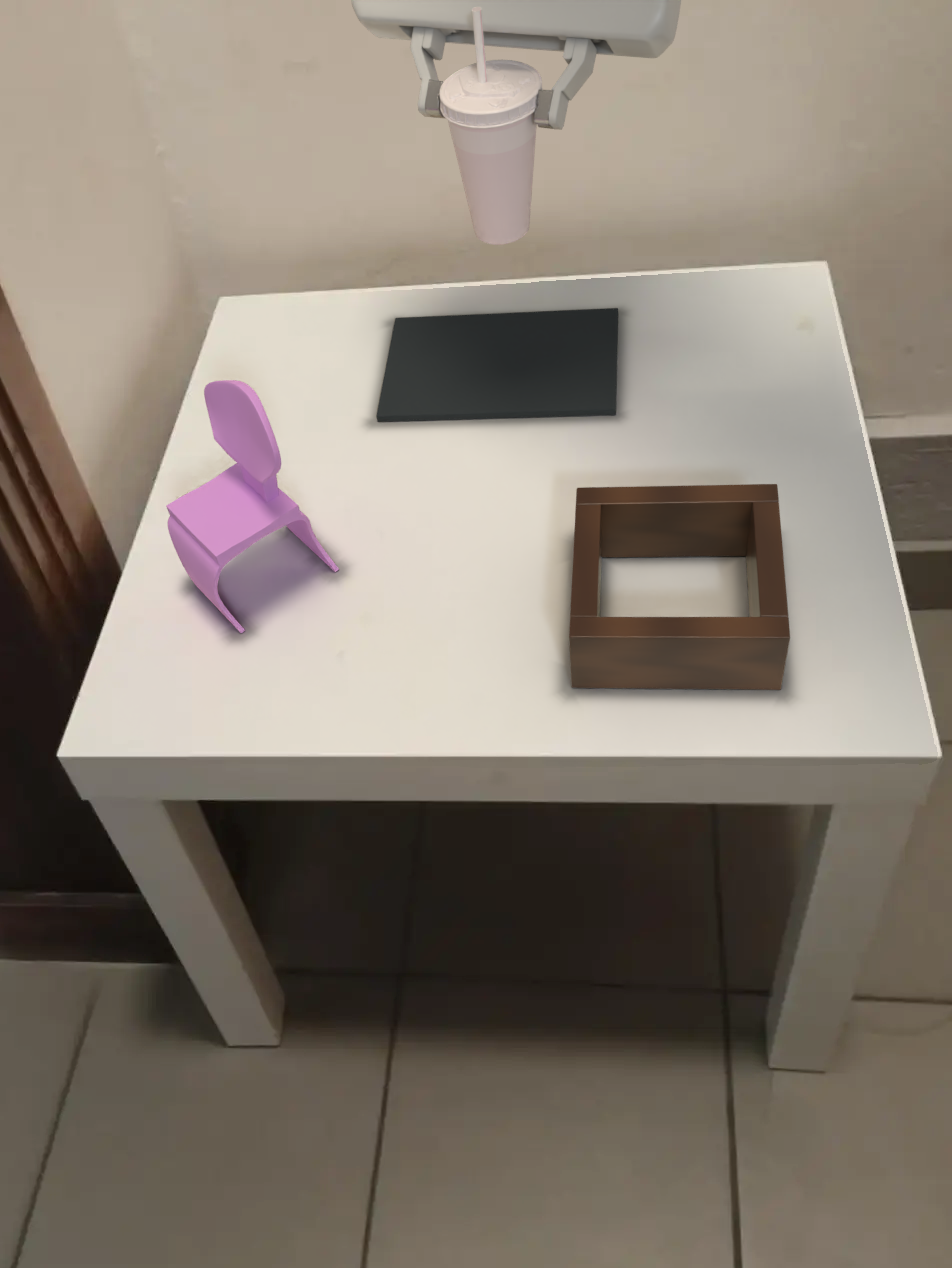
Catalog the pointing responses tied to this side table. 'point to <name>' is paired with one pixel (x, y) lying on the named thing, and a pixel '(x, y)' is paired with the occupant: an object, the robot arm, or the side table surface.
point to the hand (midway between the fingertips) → (489, 120)
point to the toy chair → (235, 494)
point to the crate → (679, 644)
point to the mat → (501, 366)
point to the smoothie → (494, 139)
